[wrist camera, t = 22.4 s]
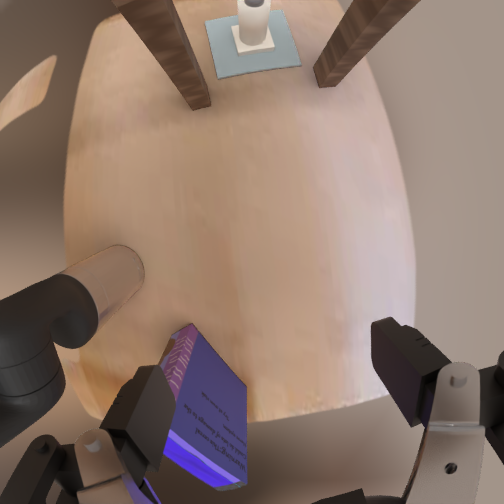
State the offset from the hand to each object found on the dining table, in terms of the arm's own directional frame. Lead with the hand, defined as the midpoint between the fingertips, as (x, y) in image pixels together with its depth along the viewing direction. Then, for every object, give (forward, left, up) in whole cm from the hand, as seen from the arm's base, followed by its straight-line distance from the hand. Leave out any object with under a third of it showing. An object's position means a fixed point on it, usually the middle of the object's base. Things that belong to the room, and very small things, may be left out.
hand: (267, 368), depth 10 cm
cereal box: (-13, -23, -36) cm, 45 cm away
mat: (+7, +32, -36) cm, 49 cm away
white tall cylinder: (+7, +32, -36) cm, 48 cm away
